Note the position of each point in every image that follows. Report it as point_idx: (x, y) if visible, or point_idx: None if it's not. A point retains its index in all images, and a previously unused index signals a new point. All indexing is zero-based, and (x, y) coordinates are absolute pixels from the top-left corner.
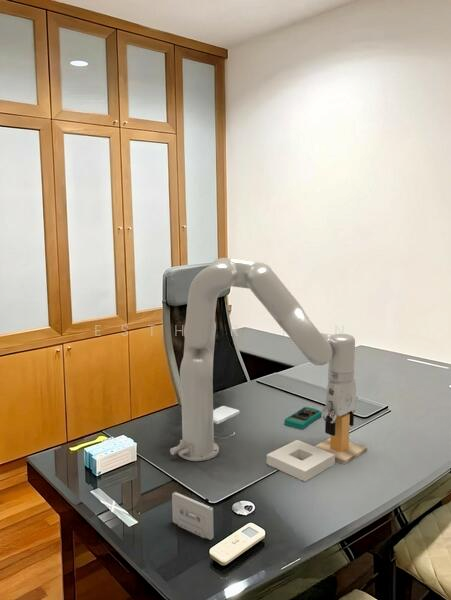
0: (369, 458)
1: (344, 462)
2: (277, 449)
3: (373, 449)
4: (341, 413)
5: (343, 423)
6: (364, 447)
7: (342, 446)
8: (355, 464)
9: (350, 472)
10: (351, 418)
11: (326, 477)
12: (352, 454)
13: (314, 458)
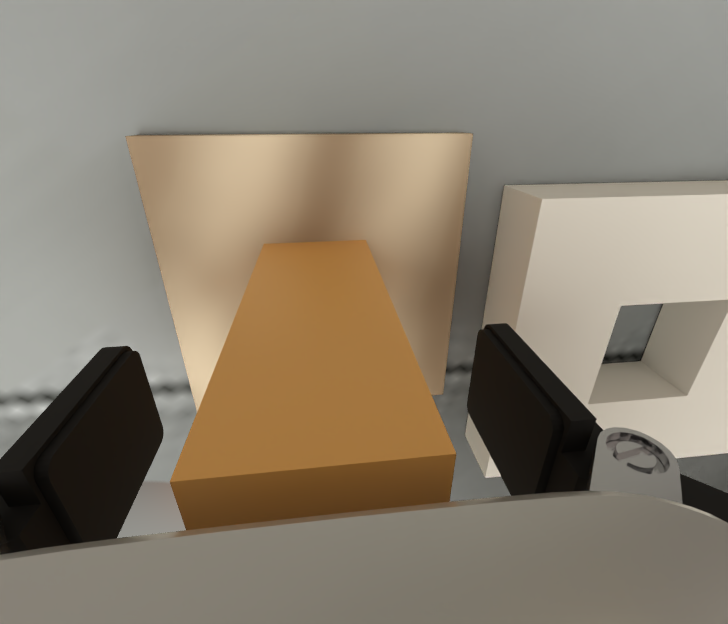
0: (231, 26)
1: (468, 133)
2: None
3: (58, 104)
4: (657, 549)
5: (384, 374)
6: (140, 156)
7: (355, 253)
8: (411, 61)
9: (555, 9)
10: (88, 422)
11: (701, 110)
12: (334, 153)
13: (673, 266)
